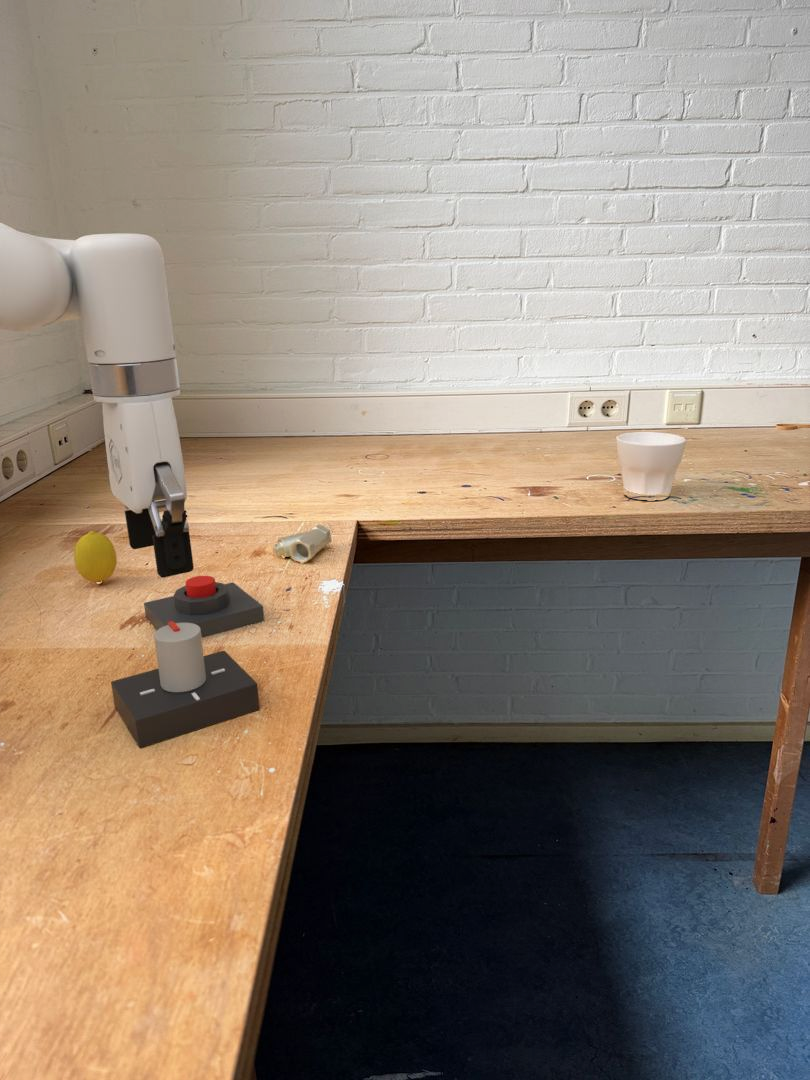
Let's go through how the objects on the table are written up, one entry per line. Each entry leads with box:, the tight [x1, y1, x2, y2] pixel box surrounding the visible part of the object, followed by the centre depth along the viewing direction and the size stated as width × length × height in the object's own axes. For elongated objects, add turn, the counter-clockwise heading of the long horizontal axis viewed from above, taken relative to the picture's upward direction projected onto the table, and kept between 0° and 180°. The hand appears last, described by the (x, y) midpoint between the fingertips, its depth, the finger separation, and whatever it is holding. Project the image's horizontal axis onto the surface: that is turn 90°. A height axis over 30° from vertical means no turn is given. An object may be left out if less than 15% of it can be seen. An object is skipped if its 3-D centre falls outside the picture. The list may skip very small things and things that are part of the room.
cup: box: [615, 431, 687, 495], centre depth 150 cm, size 12×12×11 cm
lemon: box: [73, 530, 118, 583], centre depth 112 cm, size 6×6×8 cm
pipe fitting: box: [272, 524, 332, 563], centre depth 123 cm, size 8×4×7 cm
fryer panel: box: [110, 650, 260, 749], centre depth 80 cm, size 12×9×3 cm
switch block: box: [143, 581, 265, 639], centre depth 100 cm, size 12×10×4 cm
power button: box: [185, 575, 216, 598], centre depth 100 cm, size 4×4×2 cm
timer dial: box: [153, 621, 206, 692], centre depth 79 cm, size 4×4×6 cm
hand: (160, 559), depth 77 cm, fingers open, 9 cm apart
